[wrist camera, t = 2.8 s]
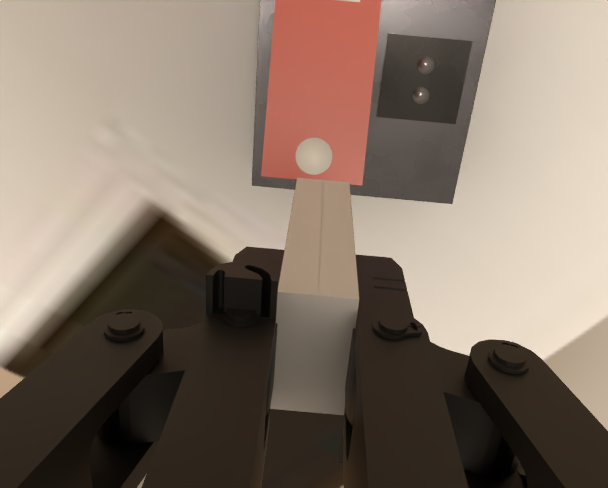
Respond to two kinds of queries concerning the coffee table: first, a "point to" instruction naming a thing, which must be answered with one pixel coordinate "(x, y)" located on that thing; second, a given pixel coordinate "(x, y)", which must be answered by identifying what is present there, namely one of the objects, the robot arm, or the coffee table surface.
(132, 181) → the coffee table surface
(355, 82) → the plate
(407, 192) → the power strip
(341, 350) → the robot arm
